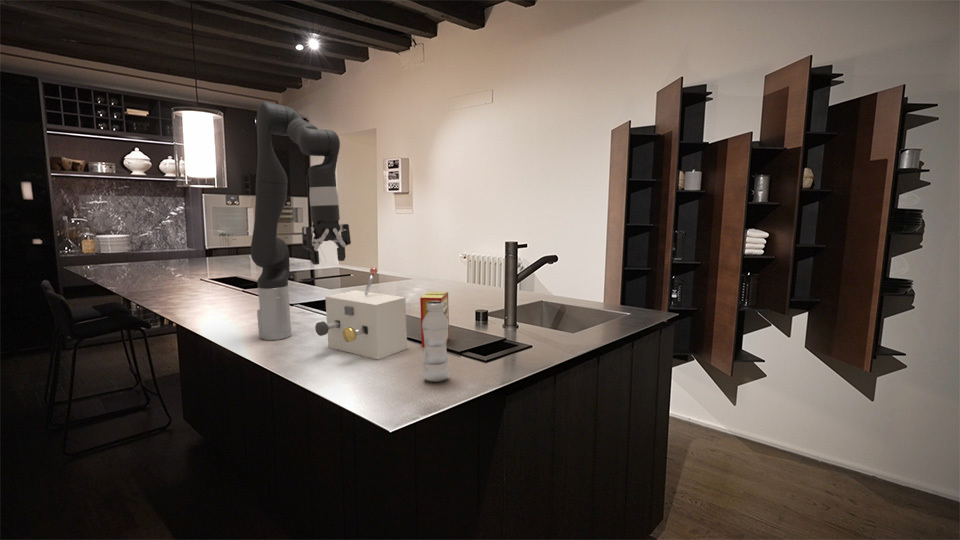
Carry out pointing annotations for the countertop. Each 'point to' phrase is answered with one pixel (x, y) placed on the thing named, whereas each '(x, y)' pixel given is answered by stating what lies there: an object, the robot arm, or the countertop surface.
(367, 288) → the toggle lever
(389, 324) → the console
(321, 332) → the black plunger
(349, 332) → the brass plunger
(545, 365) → the countertop surface
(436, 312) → the plastic bottle
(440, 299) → the baking soda box
